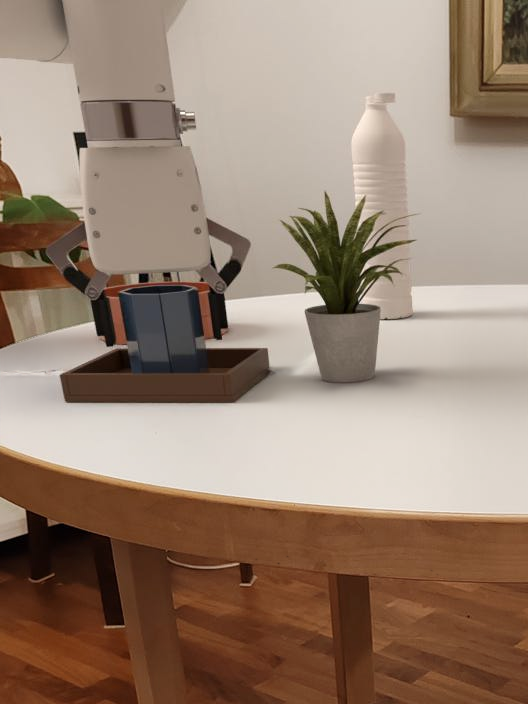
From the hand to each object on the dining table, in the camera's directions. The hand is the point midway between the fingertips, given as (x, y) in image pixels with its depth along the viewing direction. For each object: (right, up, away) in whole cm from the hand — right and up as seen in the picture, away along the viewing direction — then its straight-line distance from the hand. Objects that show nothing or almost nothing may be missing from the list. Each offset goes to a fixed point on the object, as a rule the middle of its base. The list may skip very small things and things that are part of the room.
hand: (165, 340), depth 90 cm
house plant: (+16, -3, +3) cm, 17 cm away
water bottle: (+17, +14, +36) cm, 43 cm away
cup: (0, -3, +2) cm, 4 cm away
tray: (0, -4, +2) cm, 4 cm away
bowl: (-8, +8, +25) cm, 27 cm away
